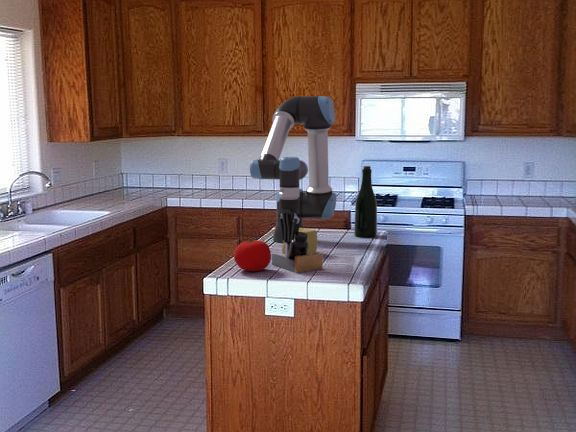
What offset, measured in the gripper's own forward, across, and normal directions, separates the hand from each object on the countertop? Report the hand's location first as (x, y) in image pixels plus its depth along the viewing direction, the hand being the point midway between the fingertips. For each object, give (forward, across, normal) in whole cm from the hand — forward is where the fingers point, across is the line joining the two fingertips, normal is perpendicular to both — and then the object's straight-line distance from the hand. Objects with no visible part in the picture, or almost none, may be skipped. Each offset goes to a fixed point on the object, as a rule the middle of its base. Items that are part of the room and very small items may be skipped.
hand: (289, 259), depth 261 cm
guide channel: (+2, +5, 0) cm, 5 cm away
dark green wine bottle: (+2, -32, +64) cm, 71 cm away
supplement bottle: (+1, +5, 0) cm, 5 cm away
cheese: (+2, -15, +15) cm, 21 cm away
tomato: (+2, +2, -17) cm, 17 cm away
